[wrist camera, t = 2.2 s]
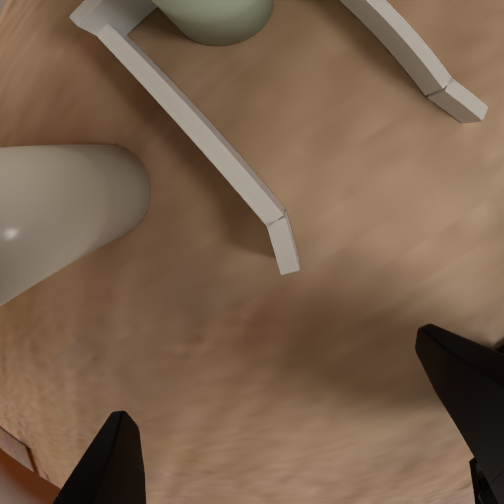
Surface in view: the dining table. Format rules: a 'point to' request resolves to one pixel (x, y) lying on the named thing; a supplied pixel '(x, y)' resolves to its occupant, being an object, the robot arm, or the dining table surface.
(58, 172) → the cream jar
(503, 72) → the dining table surface
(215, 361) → the dining table surface
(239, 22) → the grey-green cylinder
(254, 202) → the white u-shaped frame
